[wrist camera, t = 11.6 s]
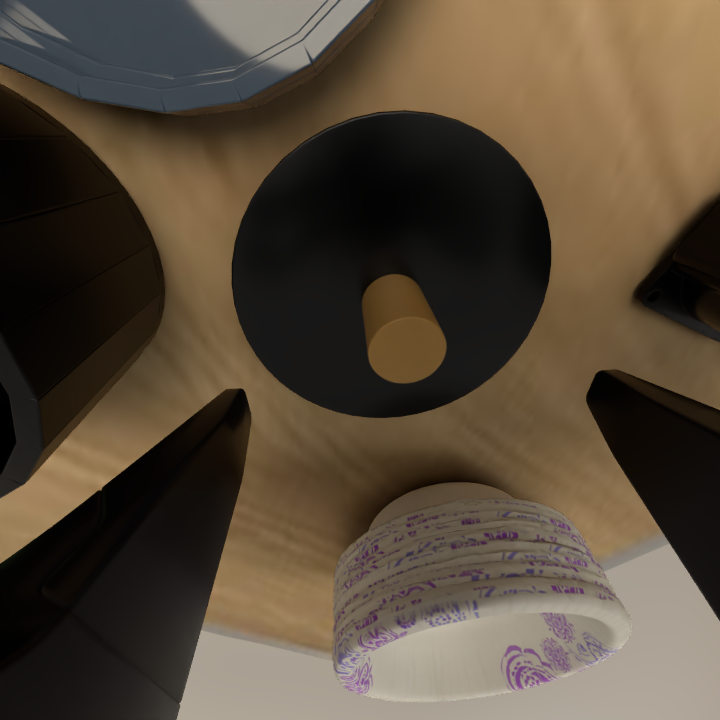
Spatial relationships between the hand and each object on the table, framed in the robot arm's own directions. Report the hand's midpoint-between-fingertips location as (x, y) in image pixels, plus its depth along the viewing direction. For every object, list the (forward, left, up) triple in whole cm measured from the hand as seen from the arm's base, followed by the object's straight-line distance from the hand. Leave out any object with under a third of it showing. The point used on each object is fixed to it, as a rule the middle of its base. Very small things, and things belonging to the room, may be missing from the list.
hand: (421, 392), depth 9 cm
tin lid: (0, 0, -6) cm, 6 cm away
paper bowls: (-11, +14, -7) cm, 19 cm away
